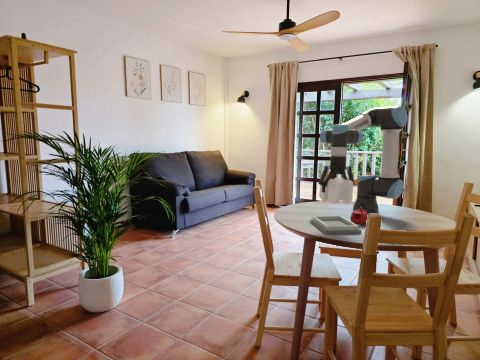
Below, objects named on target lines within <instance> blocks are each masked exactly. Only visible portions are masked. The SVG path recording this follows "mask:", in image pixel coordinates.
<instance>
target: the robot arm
mask: <svg viewBox="0 0 480 360" xmlns="http://www.w3.org/2000/svg"><path fill="white" fill-rule="evenodd" d="M408 120H409V119H408V113H407V110H406V108H405V107H404V106H401V105H389V106H379V107H373V108H370V109H368V110H366V111H364V112H362V113H359V114H358V115H357V116H356V117H354V118H352V119H350V120H348V121H346V122H344V123H342V124H340V123H338V124H337V123H336V124H334V125H333V126H332V128H330V129H328V128H327V129H324V130H323V129H322V131H320V135H319V140H320V141H321V143H323V144H331V145H330V146H331V147H330V155H331V156H330V159H329V163H330V164H329V165H324V166H323V171H322V173H321V176H320V179H319V181H318V185H319V186H320V185H322V192H323V199H326V198H327V186H326V185H327V183H328V181H329V180H332V177H333V176H334V175H341V177H342V179H345V180H351V181H352V182H353V186H355V180H354V176H353V172H352V169H353V168H352V167H353V166H350V165H349V166H347V165H346V164H347V152H348V151H347V149H348V145H358V144H360V143H362V141H363V139H364V135H363V133H362V131H361V130H363V129H364V130H365V129H368V128H380V131H381V132H382V146H381V148H382V150H381V169H380V170H381V173H380V174H364V175H359V176H358V179H357V190H356V199H355V201H354V204H353V208H352V210H353V211H356V210H358V209H359V210H360V207H362V209H363V210H362V211H364V212H366V213H368V214H373V213H374V214H377V213H378V212H379V205H378V201H377V197H381V198H385V199H393V200H394V199H398V198H399V197H401V195H402V193H403V191H404V187H405V184H404V181H403V180H402V179H401V177H400V175H399V174H398V167H399V166H398V165H399V146H400V145H399V144H400V132H401V131H403V129H404V127H405V126H407V124H408ZM329 170H330V171H329ZM345 170H346V172H345ZM328 171H329V172H328ZM346 173H347V175H346ZM325 178H326V179H325ZM324 179H325V180H324ZM323 181H324V182H323ZM354 209H356V210H354Z"/></svg>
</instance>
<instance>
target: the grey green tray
mask: <svg viewBox="0 0 480 360" xmlns="http://www.w3.org/2000/svg"><path fill="white" fill-rule="evenodd" d="M309 223H311V224H312V225H313V226H314V227H316V228H317V229H319V231H321V232H322V233H324V235H340V234H341V235H350V234H351V235H354V234H355V235H356V234H359V235H360V234H362V229H360V225H356V224H354V223H353V222H351V220H350V219H347V218H346V217H344V216H342V215H313V216H312V218H310V219H309Z"/></svg>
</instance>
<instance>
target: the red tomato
mask: <svg viewBox="0 0 480 360" xmlns="http://www.w3.org/2000/svg"><path fill="white" fill-rule="evenodd" d="M355 210H356V209H354V210H353V211H352V213H351V214H350V218H349V220H350V221H351V222H353V223H354V224H356V225H358V226H367V225H366V220H367V215H369V213H366V212H364V211H362V210H363V209H362V207H360V210H359V209H358V210H356V211H355Z"/></svg>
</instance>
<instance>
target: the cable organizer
mask: <svg viewBox="0 0 480 360" xmlns="http://www.w3.org/2000/svg"><path fill="white" fill-rule="evenodd" d="M325 179H326V177H325ZM325 179H324V180H325ZM323 182H324V181H323ZM326 186H327V198H326V199H323V192H322V185H320V184H319V198H320V200H322V201H324V202H329V204H333V205H335V204H339V202H340V201H341V202H343V203H345V204H348V203H351V202H353V195H354V194H353V193H354V185H353V182H352V181H351V180H349V179H348V180H345V179H343V177H342V178H341V177H334V179H330V180H329V181H328V183H327V185H326Z"/></svg>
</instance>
